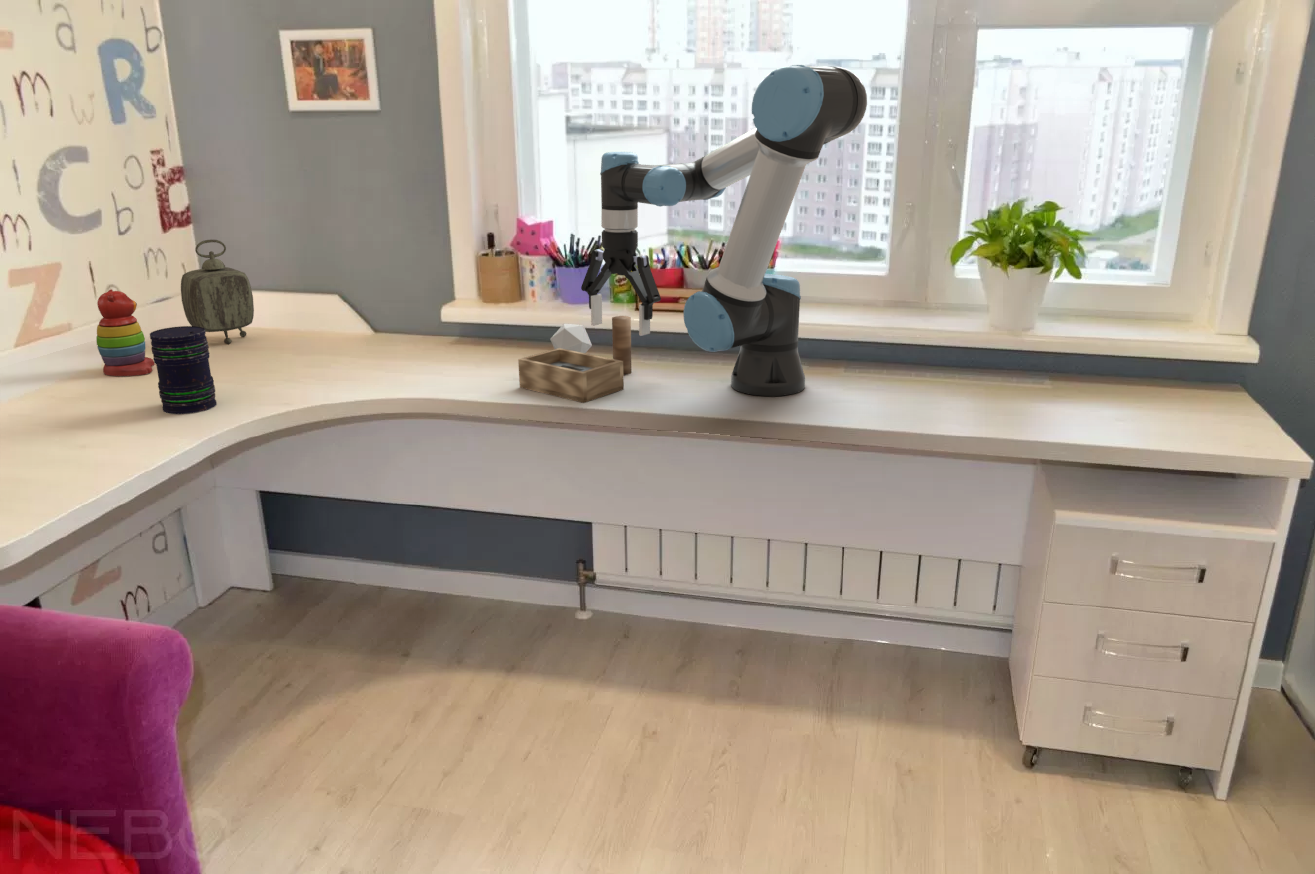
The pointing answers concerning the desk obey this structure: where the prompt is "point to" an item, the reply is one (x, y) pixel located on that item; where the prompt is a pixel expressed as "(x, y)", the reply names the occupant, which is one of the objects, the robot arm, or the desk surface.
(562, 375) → the box
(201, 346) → the storage jar
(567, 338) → the die
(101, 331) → the bird stacking toy
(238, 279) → the tabletop clock
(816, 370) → the desk surface
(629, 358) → the peg
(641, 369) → the desk surface
